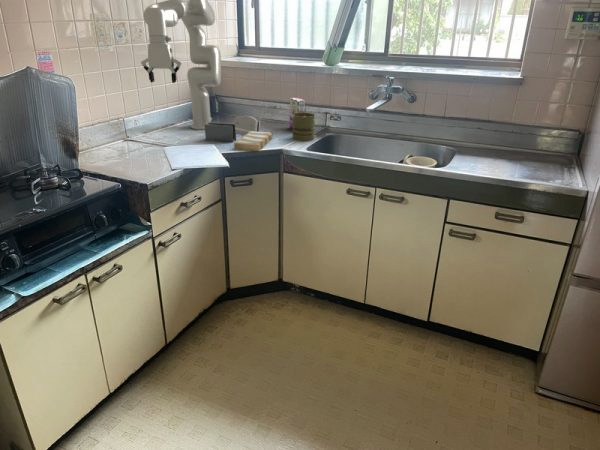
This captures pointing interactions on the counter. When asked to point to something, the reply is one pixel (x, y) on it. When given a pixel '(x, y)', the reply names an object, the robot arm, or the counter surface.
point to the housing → (220, 132)
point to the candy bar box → (296, 108)
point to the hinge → (246, 124)
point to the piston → (303, 127)
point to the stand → (253, 141)
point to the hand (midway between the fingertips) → (163, 82)
